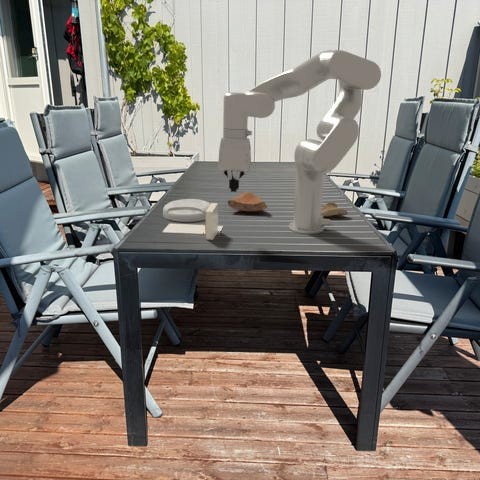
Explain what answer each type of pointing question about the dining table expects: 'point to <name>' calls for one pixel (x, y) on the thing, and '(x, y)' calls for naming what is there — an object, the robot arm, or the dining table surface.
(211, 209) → the glazed tile
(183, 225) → the mat
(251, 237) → the dining table surface
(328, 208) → the pottery shard
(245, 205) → the ceramic shard
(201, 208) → the round ceiling alarm
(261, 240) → the dining table surface
